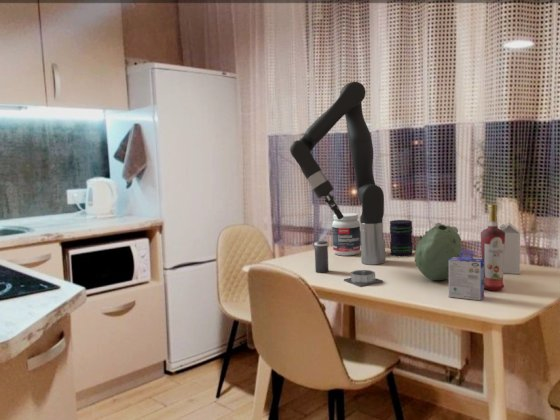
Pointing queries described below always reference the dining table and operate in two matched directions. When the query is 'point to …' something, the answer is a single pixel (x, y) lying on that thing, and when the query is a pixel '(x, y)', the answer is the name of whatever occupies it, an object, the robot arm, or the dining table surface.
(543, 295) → the dining table surface
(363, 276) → the grey ring on plate
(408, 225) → the storage jar
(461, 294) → the ink cartridge box
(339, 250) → the supplement tub
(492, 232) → the liquor
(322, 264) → the tube
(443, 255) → the green bumpy vase
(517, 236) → the milk carton
